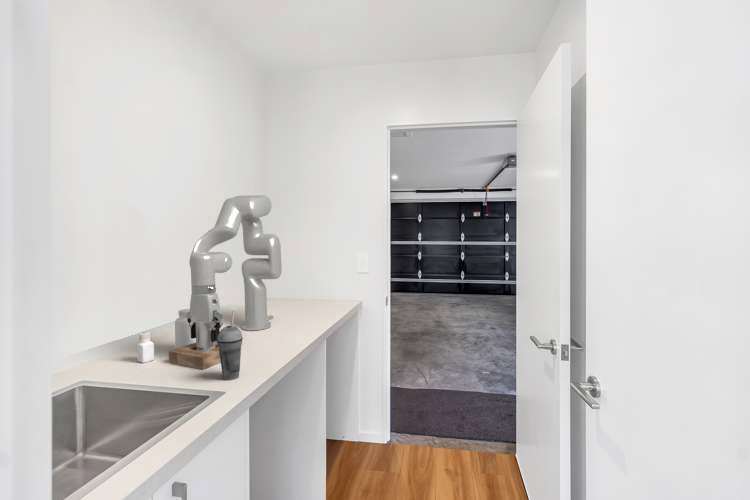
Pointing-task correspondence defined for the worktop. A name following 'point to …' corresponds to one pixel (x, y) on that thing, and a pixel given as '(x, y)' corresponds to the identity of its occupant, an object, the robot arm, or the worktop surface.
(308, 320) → the worktop surface
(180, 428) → the worktop surface
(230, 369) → the beverage cup
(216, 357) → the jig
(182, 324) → the pill bottle
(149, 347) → the pepper shaker
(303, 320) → the worktop surface
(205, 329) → the energy drink can
